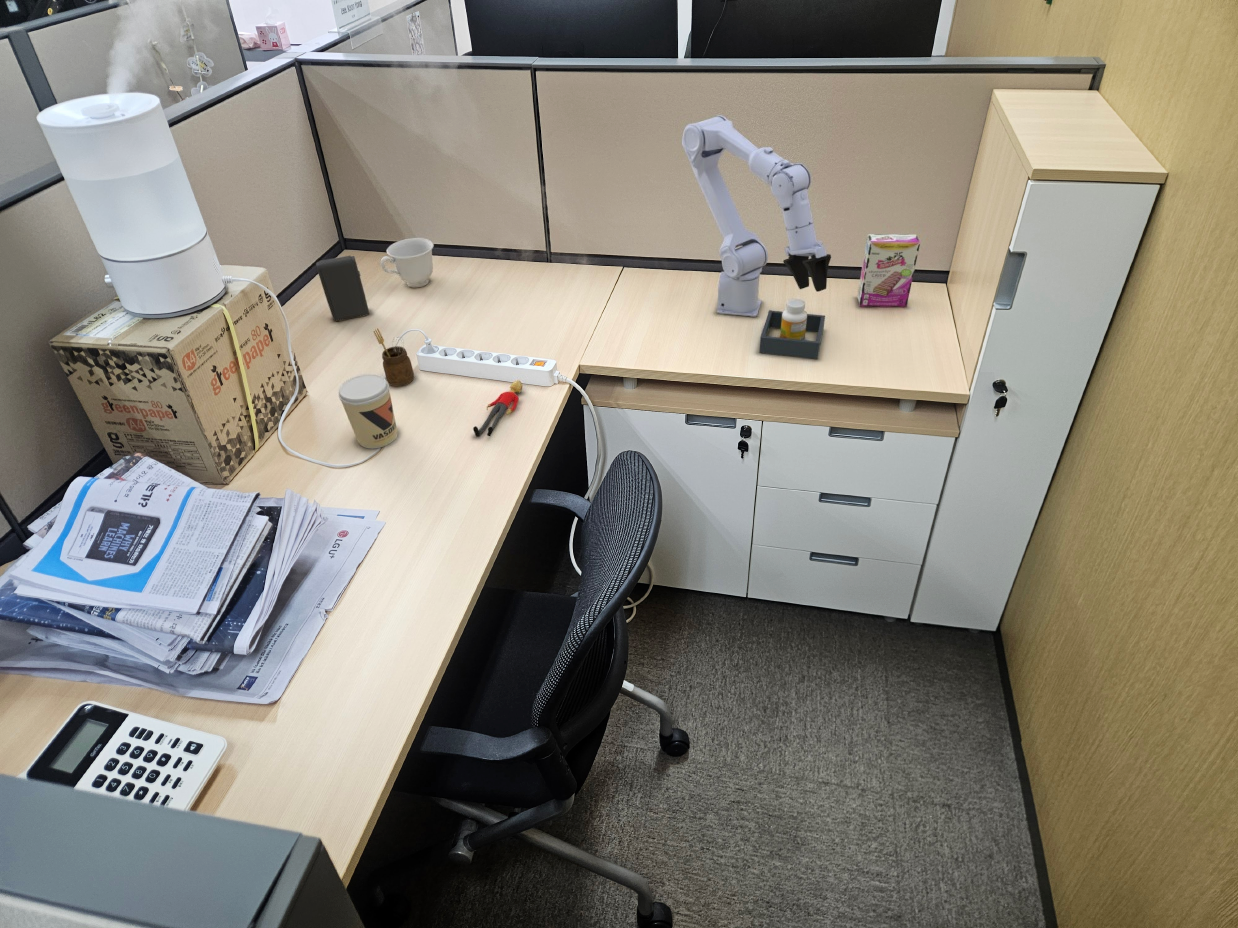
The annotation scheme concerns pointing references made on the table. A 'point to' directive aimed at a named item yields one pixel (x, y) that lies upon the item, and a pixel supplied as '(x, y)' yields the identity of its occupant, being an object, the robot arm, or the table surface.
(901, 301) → the candy bar box
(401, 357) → the utensil holder
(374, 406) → the beige lidded canister
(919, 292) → the table surface
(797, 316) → the supplement bottle
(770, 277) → the table surface
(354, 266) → the dark grey upright block
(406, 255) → the teacup
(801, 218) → the robot arm
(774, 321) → the tray
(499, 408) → the person figure
